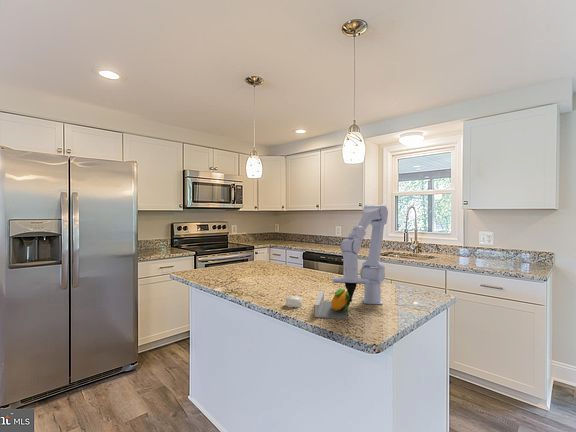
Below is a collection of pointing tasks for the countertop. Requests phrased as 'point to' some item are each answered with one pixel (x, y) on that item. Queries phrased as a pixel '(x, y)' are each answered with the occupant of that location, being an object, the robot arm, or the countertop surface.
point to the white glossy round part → (293, 301)
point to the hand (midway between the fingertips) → (350, 301)
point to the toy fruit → (340, 300)
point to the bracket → (328, 309)
